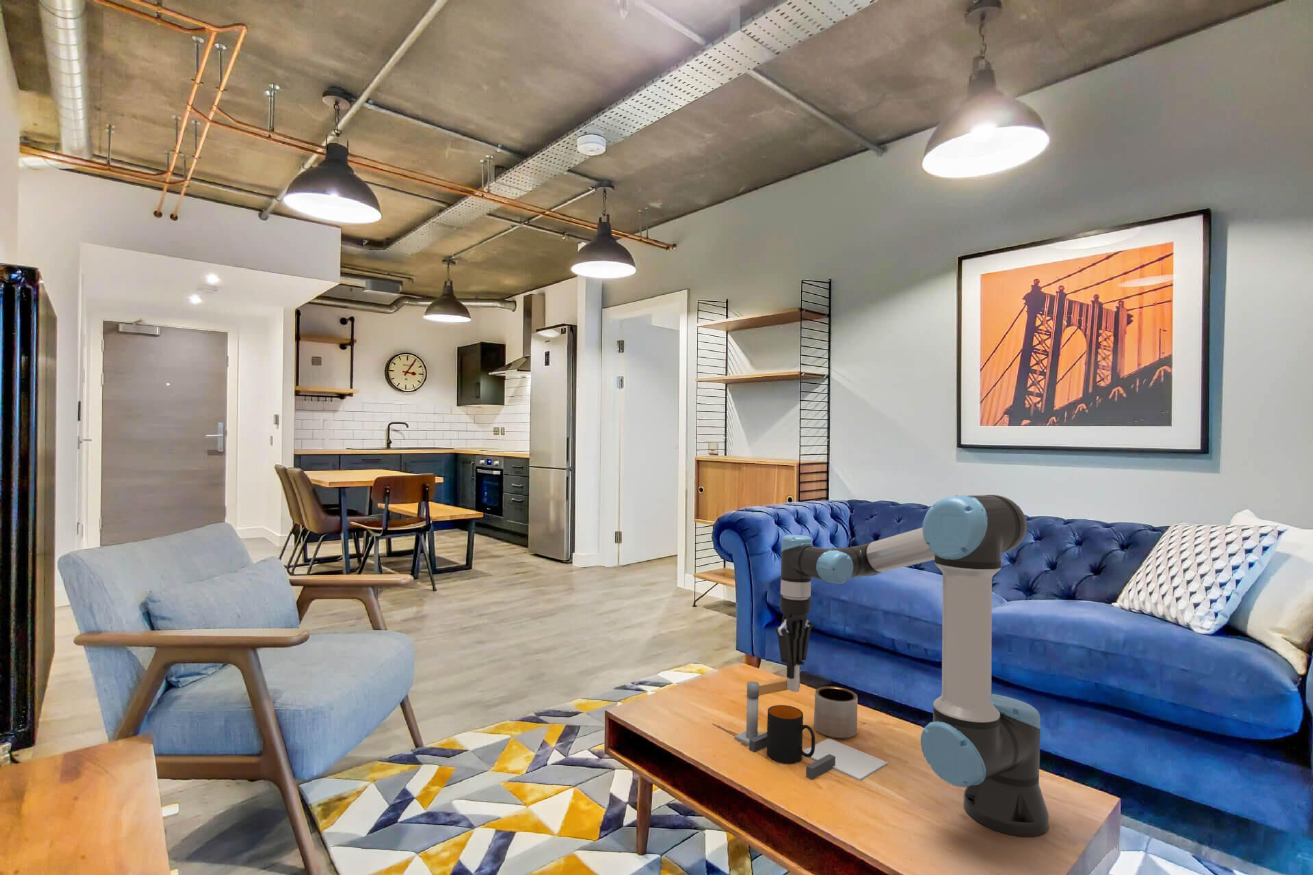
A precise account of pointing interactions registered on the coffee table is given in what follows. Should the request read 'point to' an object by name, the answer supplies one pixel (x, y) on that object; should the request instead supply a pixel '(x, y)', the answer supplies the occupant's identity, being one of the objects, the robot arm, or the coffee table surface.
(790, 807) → the coffee table surface
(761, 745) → the dock
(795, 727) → the mug
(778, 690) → the wooden bar
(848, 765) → the mat
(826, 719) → the planter
